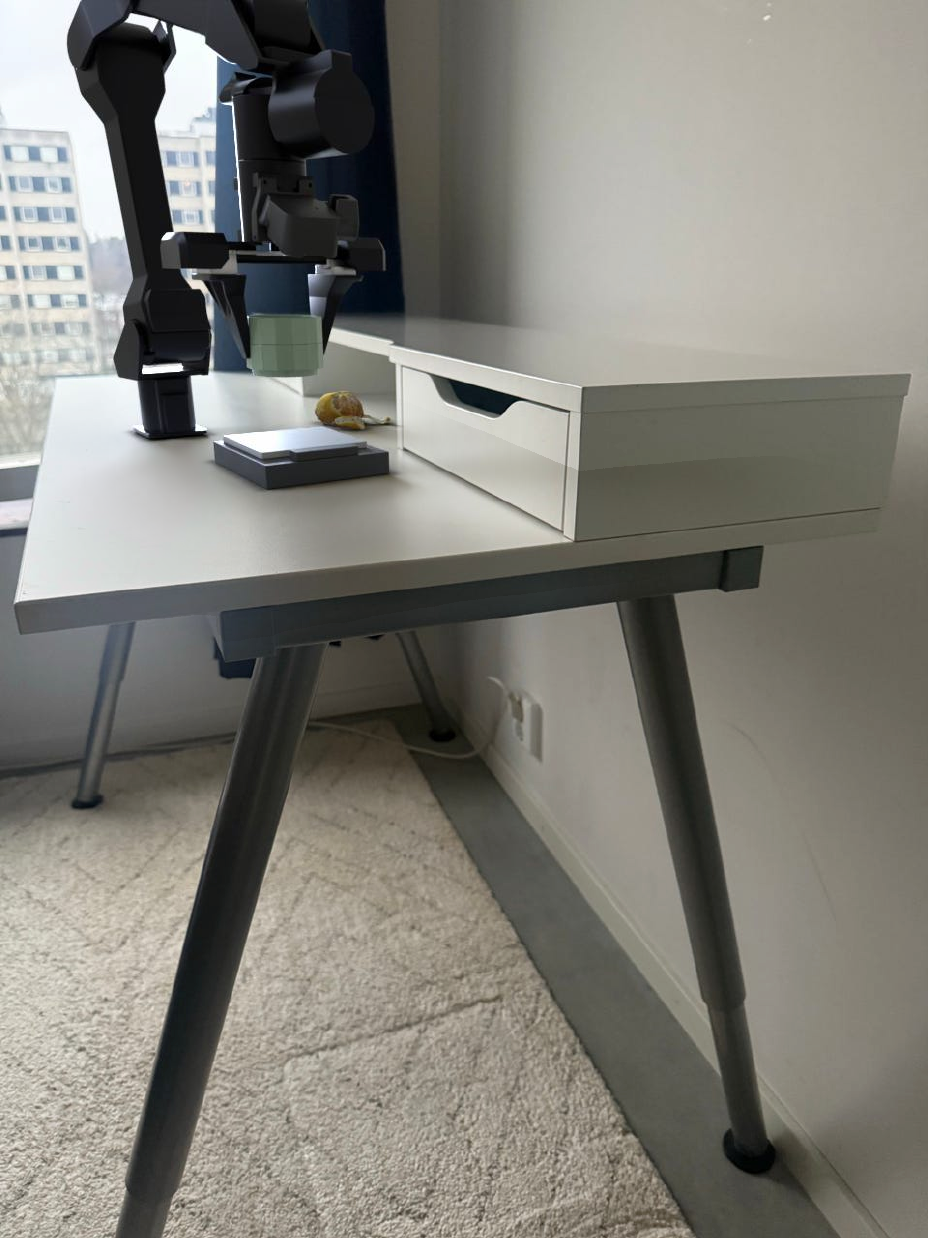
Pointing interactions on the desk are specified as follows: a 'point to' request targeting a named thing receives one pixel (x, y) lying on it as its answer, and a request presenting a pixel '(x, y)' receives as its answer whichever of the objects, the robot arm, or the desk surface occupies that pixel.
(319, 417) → the fruit
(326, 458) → the scale
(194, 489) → the desk surface
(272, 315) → the bowl
